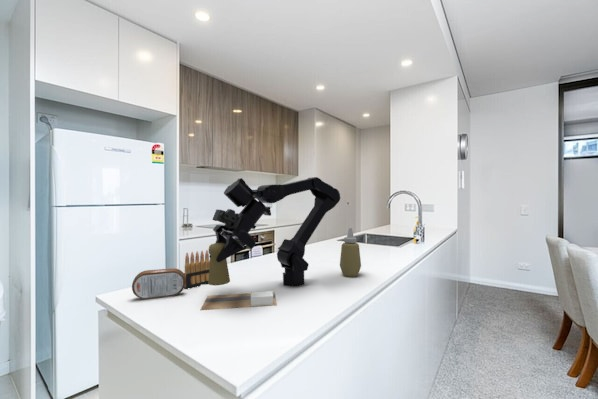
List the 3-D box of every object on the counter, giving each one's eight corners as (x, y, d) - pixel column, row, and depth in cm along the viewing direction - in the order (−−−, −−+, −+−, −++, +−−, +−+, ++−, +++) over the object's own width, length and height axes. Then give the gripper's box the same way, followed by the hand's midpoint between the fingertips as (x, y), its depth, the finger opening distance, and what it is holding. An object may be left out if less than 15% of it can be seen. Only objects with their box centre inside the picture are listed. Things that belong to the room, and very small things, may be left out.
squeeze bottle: (364, 273, 112) (364, 227, 112) (356, 279, 105) (356, 230, 105) (344, 271, 116) (344, 226, 116) (336, 276, 109) (336, 228, 109)
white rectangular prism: (272, 299, 82) (272, 291, 82) (273, 304, 78) (273, 296, 78) (251, 300, 81) (251, 292, 81) (250, 306, 77) (250, 297, 77)
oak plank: (274, 295, 89) (274, 291, 89) (277, 309, 78) (277, 305, 78) (207, 299, 86) (207, 295, 86) (200, 314, 75) (200, 310, 75)
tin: (186, 292, 93) (185, 266, 93) (186, 295, 90) (185, 268, 90) (133, 298, 88) (132, 271, 87) (131, 302, 85) (130, 273, 85)
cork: (214, 278, 85) (213, 241, 85) (233, 279, 84) (232, 241, 84) (203, 285, 79) (202, 245, 79) (224, 285, 78) (223, 245, 78)
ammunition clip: (185, 289, 96) (185, 253, 96) (183, 288, 97) (183, 252, 97) (215, 282, 103) (215, 249, 103) (213, 281, 104) (212, 248, 104)
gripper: (218, 199, 91) (183, 237, 85) (243, 199, 76) (202, 246, 70) (242, 221, 96) (210, 260, 90) (270, 226, 81) (234, 273, 74)
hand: (213, 259), depth 81 cm, fingers closed on cork, 5 cm apart
